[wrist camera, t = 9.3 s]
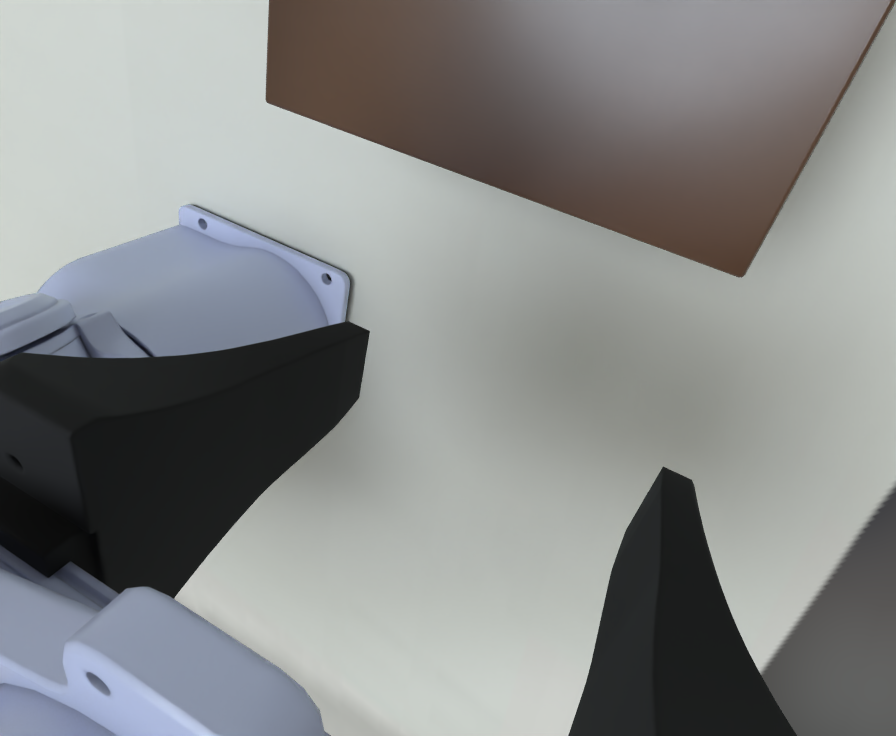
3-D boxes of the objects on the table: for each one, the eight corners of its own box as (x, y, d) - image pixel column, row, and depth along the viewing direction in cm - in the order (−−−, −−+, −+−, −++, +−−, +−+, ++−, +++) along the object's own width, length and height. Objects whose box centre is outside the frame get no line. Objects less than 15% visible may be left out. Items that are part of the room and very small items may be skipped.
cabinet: (392, 82, 22) (259, 103, 16) (433, -196, 18) (270, -299, 12) (752, 204, 19) (742, 283, 13) (910, -99, 14) (997, -178, 9)
